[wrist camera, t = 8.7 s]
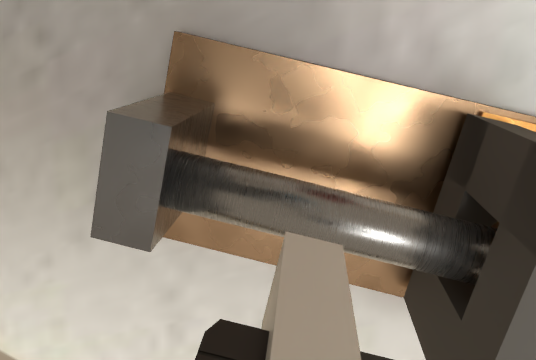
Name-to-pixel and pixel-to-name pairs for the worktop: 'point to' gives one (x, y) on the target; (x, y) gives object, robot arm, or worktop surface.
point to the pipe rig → (290, 165)
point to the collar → (498, 258)
